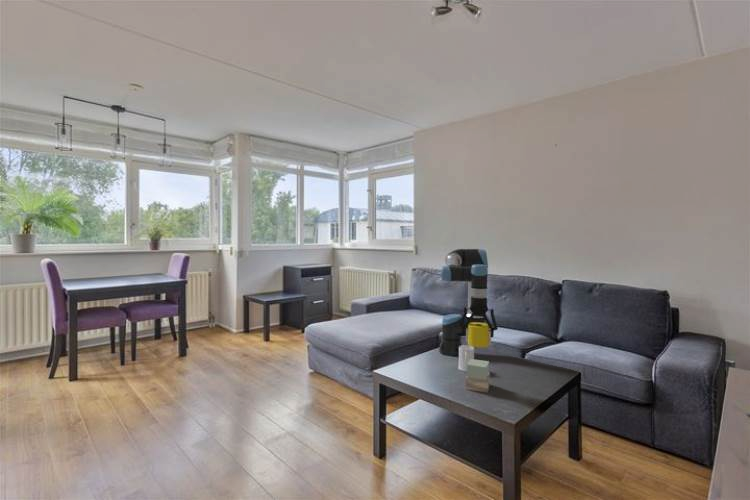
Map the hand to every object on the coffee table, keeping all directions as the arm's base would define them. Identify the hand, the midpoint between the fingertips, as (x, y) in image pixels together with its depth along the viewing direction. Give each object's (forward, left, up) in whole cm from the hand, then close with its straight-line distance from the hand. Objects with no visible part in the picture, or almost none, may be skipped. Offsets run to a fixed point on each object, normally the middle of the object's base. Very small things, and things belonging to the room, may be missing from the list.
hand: (478, 342), depth 179 cm
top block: (0, 0, -16) cm, 16 cm away
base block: (0, 0, -22) cm, 22 cm away
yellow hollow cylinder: (0, 0, -1) cm, 1 cm away
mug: (-20, -9, -22) cm, 31 cm away
